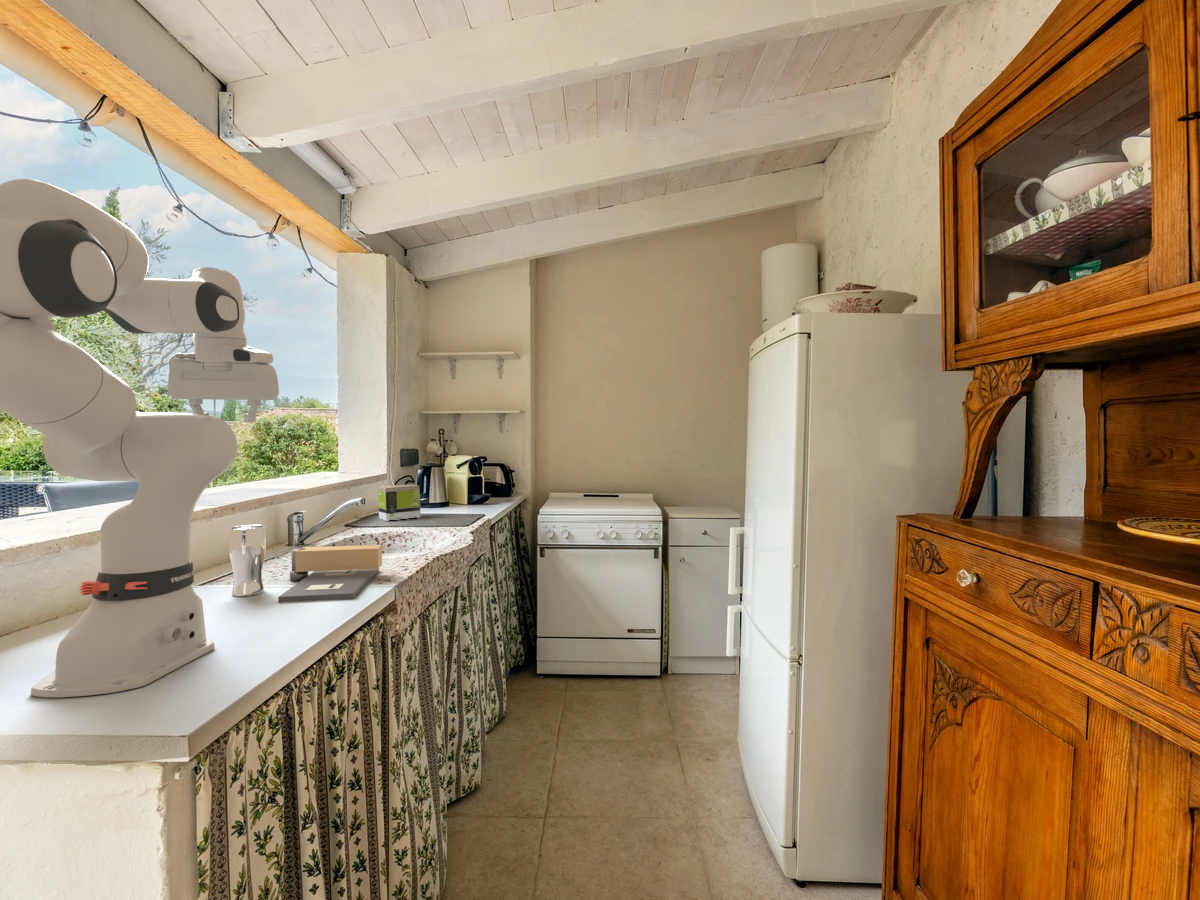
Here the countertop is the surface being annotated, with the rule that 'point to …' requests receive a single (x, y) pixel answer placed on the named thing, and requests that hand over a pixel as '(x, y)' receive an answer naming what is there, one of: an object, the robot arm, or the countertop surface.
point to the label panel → (329, 585)
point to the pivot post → (298, 576)
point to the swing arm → (336, 558)
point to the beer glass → (247, 559)
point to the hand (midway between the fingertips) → (226, 422)
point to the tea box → (399, 502)
